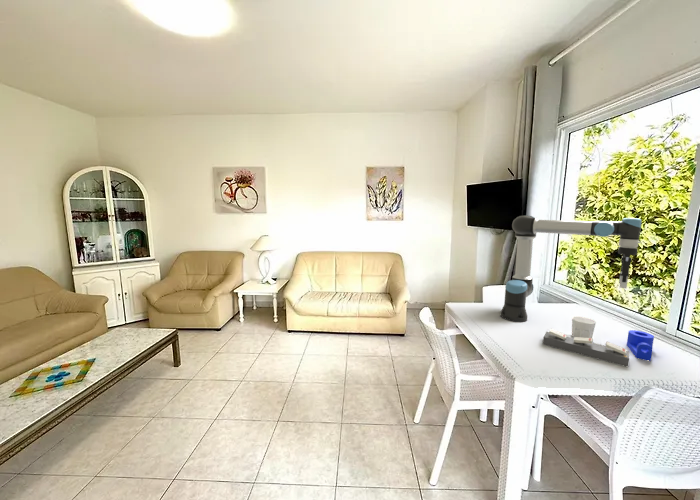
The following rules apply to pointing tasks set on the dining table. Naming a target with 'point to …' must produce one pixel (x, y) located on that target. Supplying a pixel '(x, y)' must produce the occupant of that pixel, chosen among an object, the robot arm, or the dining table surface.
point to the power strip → (587, 349)
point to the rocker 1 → (558, 334)
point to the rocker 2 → (583, 340)
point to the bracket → (640, 344)
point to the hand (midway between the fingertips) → (622, 285)
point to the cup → (582, 327)
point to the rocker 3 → (615, 348)
